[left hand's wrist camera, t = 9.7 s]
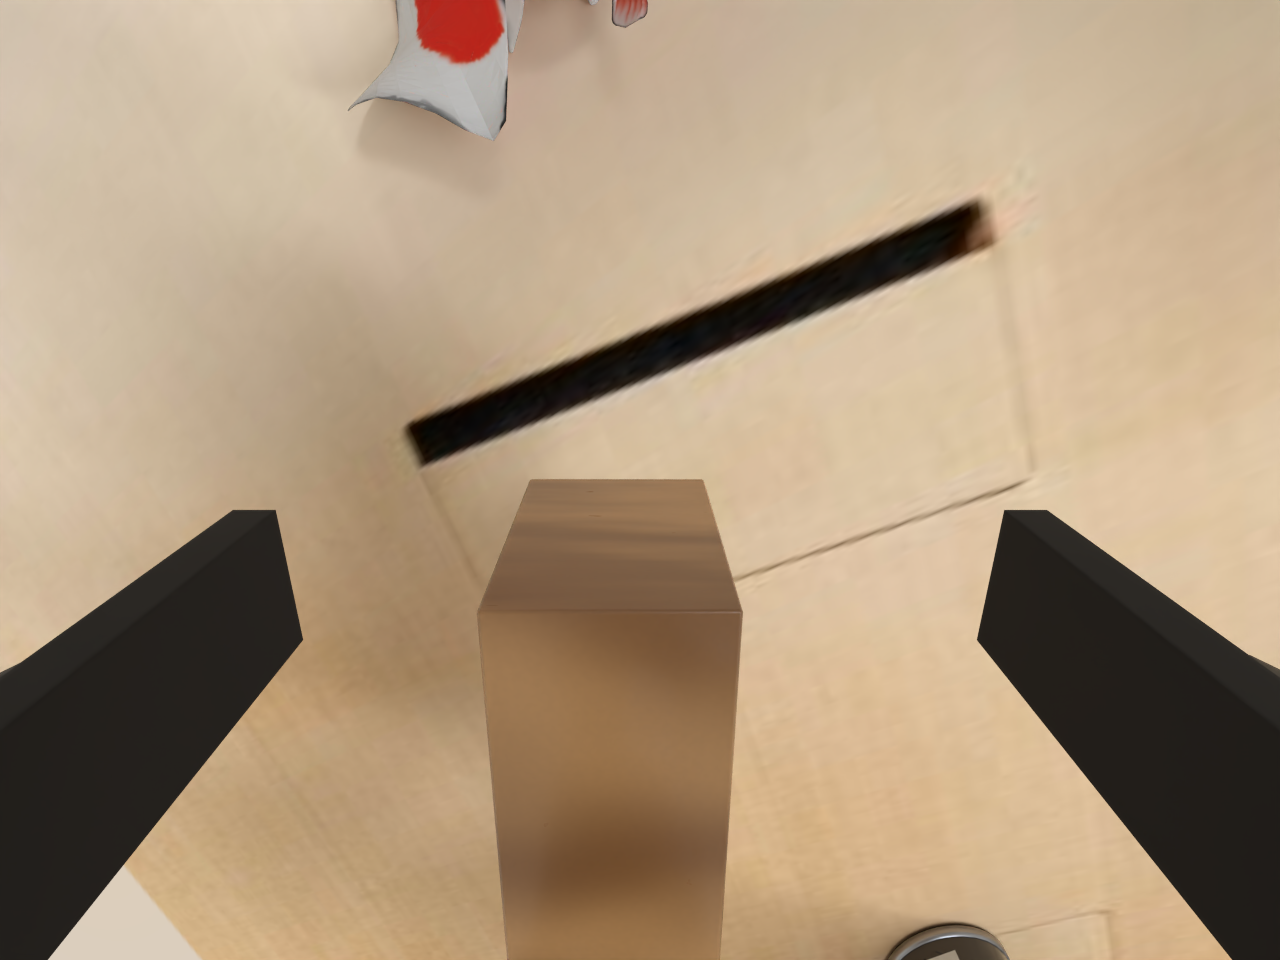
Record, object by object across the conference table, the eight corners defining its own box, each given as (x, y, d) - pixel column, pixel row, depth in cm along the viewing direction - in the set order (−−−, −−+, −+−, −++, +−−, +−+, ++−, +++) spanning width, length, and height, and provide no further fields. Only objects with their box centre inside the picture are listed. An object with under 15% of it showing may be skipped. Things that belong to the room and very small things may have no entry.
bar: (529, 478, 23) (475, 611, 15) (703, 478, 23) (743, 610, 15) (555, 956, 31) (528, 1212, 23) (684, 955, 32) (703, 1208, 23)
